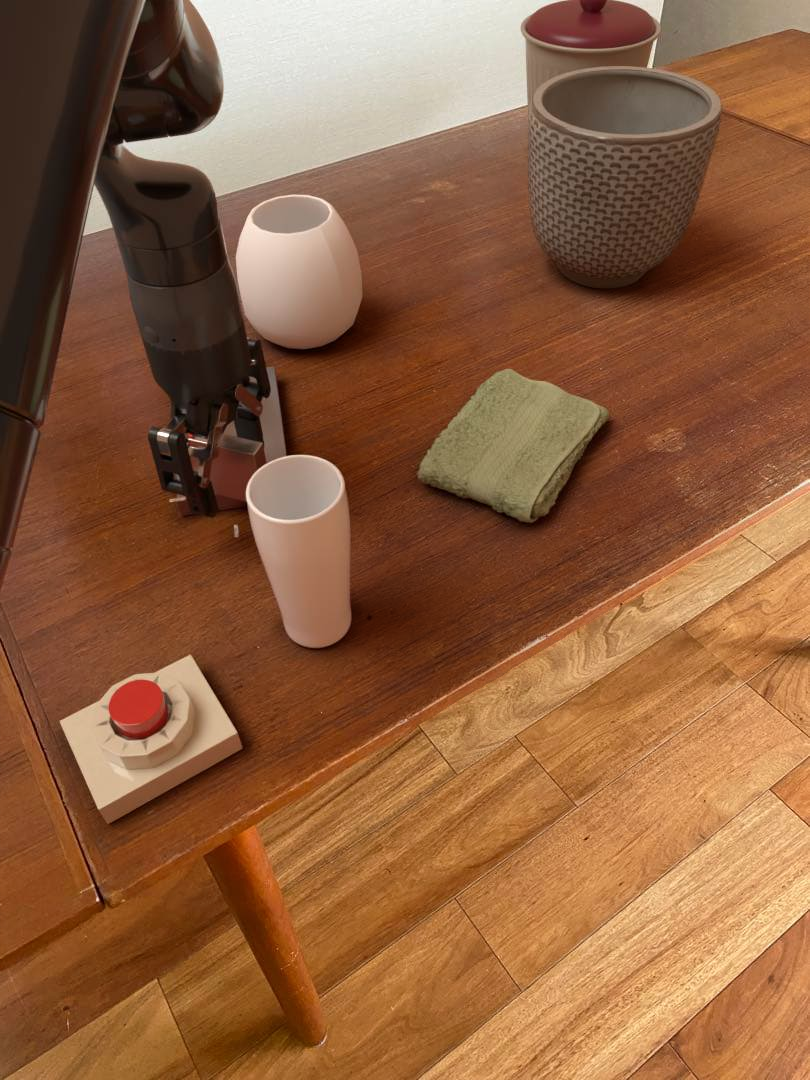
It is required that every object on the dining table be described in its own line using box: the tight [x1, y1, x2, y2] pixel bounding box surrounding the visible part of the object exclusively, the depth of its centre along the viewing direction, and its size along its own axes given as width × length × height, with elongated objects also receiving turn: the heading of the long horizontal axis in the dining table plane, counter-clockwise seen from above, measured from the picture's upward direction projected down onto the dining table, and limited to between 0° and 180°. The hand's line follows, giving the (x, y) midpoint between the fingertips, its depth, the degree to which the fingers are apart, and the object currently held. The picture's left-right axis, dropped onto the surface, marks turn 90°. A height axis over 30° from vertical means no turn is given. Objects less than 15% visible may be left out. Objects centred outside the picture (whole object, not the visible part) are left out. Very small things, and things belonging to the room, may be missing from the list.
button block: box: [59, 654, 243, 825], centre depth 60 cm, size 10×8×4 cm
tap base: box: [168, 365, 288, 539], centre depth 81 cm, size 24×11×2 cm, turn 10°
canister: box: [520, 0, 662, 120], centre depth 117 cm, size 18×18×21 cm
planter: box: [527, 66, 723, 290], centre depth 97 cm, size 20×20×19 cm
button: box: [109, 680, 169, 739], centre depth 58 cm, size 4×4×2 cm
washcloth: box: [416, 368, 611, 524], centre depth 80 cm, size 13×18×3 cm
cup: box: [235, 194, 364, 350], centre depth 92 cm, size 13×13×14 cm
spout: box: [188, 434, 267, 502], centre depth 74 cm, size 7×2×6 cm, turn 70°
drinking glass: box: [246, 454, 353, 649], centre depth 63 cm, size 7×7×15 cm
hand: (230, 479), depth 75 cm, fingers open, 8 cm apart
